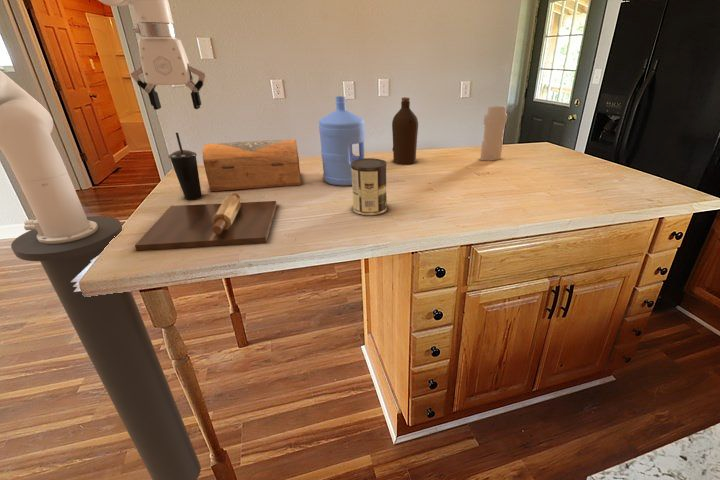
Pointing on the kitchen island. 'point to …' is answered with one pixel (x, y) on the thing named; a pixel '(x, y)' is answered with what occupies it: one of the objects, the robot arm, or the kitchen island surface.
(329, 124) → the water jug
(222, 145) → the wooden box
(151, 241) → the pastry board
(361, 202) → the coffee can
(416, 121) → the olive oil
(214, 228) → the rolling pin
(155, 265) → the kitchen island surface
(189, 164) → the drinking cup
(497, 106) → the tall pale column
